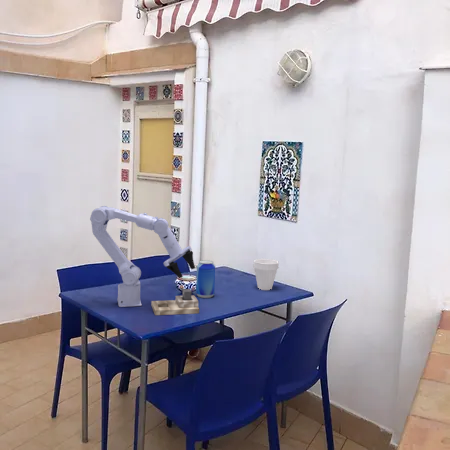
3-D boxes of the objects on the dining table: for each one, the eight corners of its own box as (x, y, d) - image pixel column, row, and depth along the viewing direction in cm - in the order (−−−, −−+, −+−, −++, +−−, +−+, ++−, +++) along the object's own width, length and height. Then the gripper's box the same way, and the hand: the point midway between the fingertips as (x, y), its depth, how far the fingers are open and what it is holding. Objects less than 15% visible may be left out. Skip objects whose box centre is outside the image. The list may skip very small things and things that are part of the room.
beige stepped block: (155, 315, 206) (155, 304, 206) (151, 305, 219) (151, 295, 218) (199, 313, 211) (199, 302, 210) (192, 303, 223) (193, 293, 223)
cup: (278, 292, 247) (279, 264, 245) (252, 291, 247) (254, 263, 245) (276, 285, 259) (277, 259, 257) (251, 284, 259) (253, 258, 257)
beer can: (198, 298, 231) (199, 263, 229) (194, 293, 239) (195, 259, 237) (216, 298, 233) (217, 263, 231) (211, 293, 241) (213, 259, 239)
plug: (183, 305, 213) (184, 291, 213) (182, 303, 217) (182, 289, 216) (191, 305, 214) (191, 291, 213) (189, 302, 218) (189, 288, 217)
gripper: (163, 251, 208) (180, 280, 210) (188, 235, 217) (204, 263, 219) (155, 254, 214) (171, 282, 215) (179, 238, 223) (194, 265, 224)
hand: (187, 273), depth 217 cm, fingers open, 7 cm apart
